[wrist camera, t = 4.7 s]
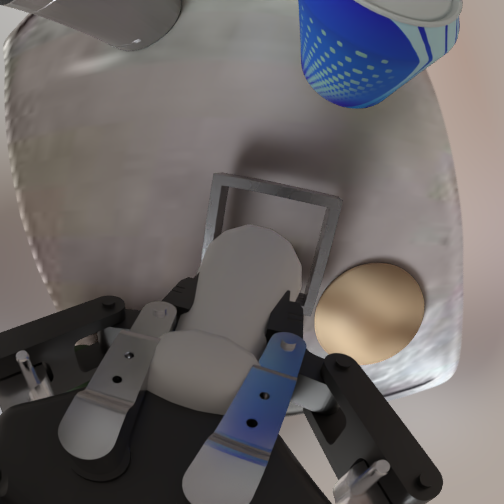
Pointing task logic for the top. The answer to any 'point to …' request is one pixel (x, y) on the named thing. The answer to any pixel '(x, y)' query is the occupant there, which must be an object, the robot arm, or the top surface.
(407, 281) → the disc
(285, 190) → the ring stand
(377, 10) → the beer can
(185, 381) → the salt shaker
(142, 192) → the top surface
